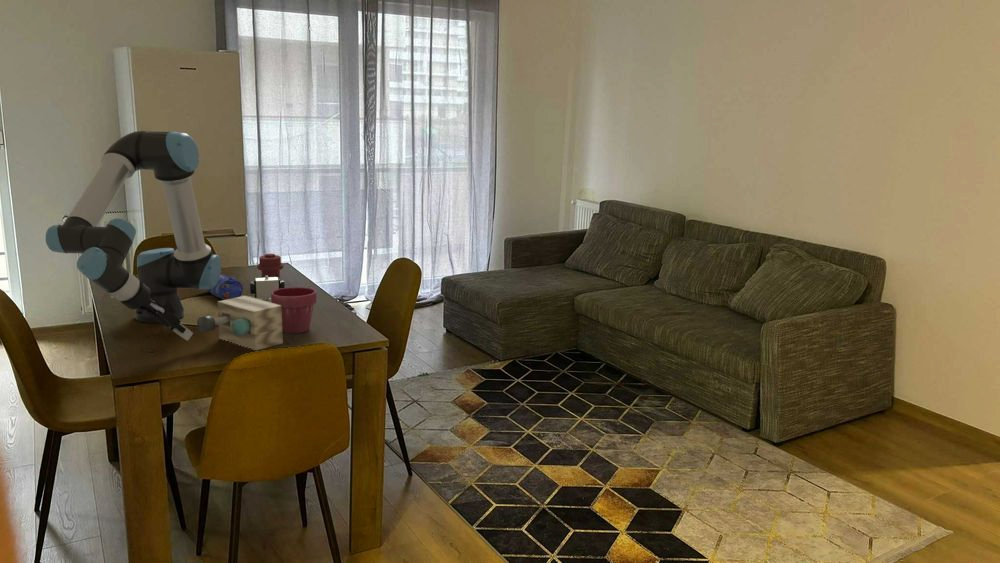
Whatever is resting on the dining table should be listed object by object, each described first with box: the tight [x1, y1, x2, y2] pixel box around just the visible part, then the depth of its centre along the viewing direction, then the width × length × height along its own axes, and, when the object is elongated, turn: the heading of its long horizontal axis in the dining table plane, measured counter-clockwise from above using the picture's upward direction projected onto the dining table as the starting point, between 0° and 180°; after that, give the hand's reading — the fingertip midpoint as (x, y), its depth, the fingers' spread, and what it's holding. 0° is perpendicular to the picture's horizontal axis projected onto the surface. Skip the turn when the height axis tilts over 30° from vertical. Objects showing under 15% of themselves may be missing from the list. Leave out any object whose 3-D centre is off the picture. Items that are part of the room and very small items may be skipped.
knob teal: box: [232, 318, 250, 336], centre depth 236 cm, size 12×5×5 cm, turn 144°
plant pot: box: [271, 286, 317, 334], centre depth 254 cm, size 14×14×13 cm
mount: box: [216, 295, 284, 351], centre depth 240 cm, size 10×18×12 cm, turn 54°
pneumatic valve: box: [249, 276, 286, 303], centre depth 278 cm, size 6×12×12 cm, turn 110°
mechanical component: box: [257, 253, 284, 279], centre depth 313 cm, size 12×10×10 cm
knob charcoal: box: [196, 315, 230, 334], centre depth 237 cm, size 12×5×5 cm, turn 144°
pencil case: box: [205, 273, 244, 300], centre depth 293 cm, size 22×9×10 cm, turn 40°
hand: (189, 336), depth 229 cm, fingers closed
